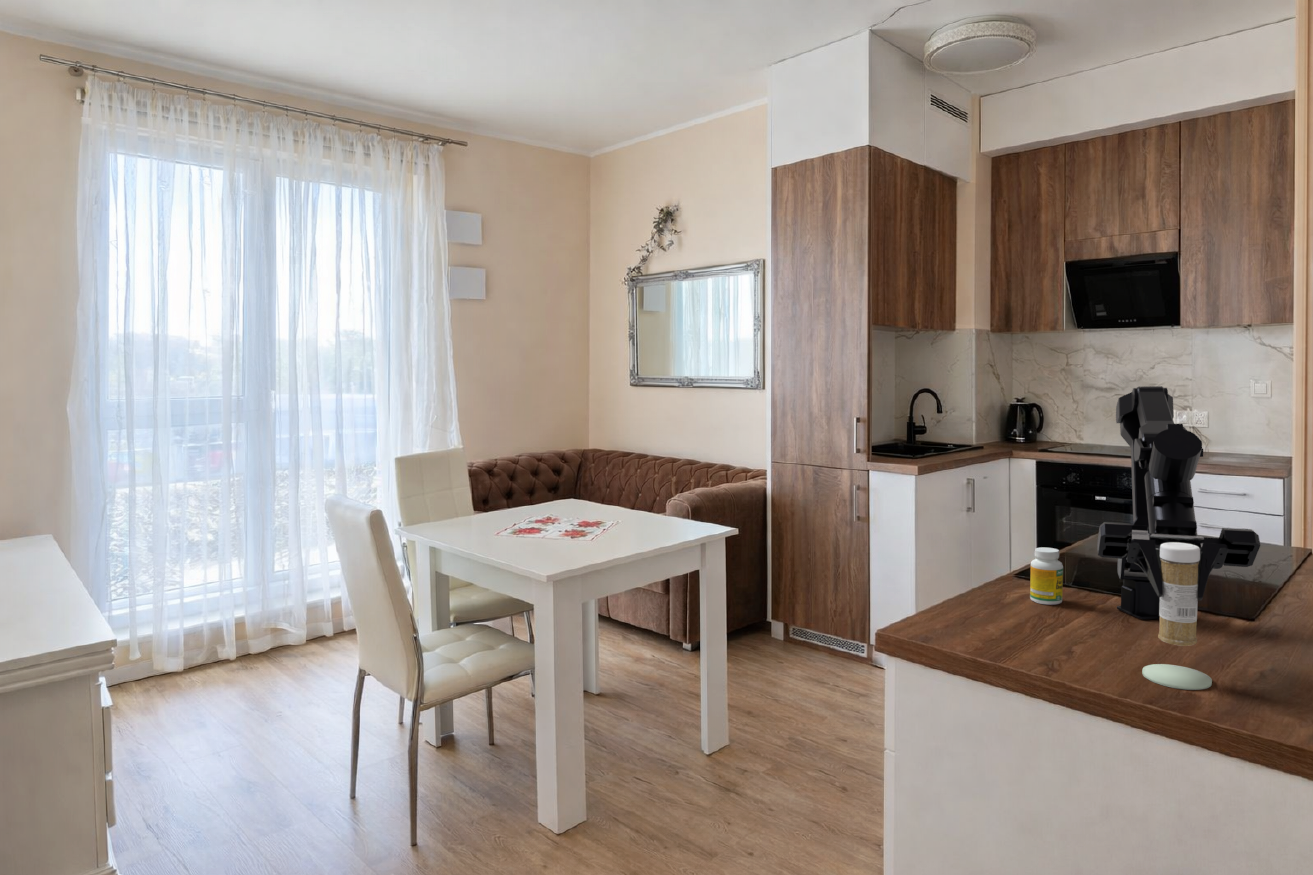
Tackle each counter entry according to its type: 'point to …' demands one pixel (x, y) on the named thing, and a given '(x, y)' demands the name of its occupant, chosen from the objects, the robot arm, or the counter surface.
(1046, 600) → the supplement bottle
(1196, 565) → the sprinkles bottle
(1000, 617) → the counter surface
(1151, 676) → the mat
